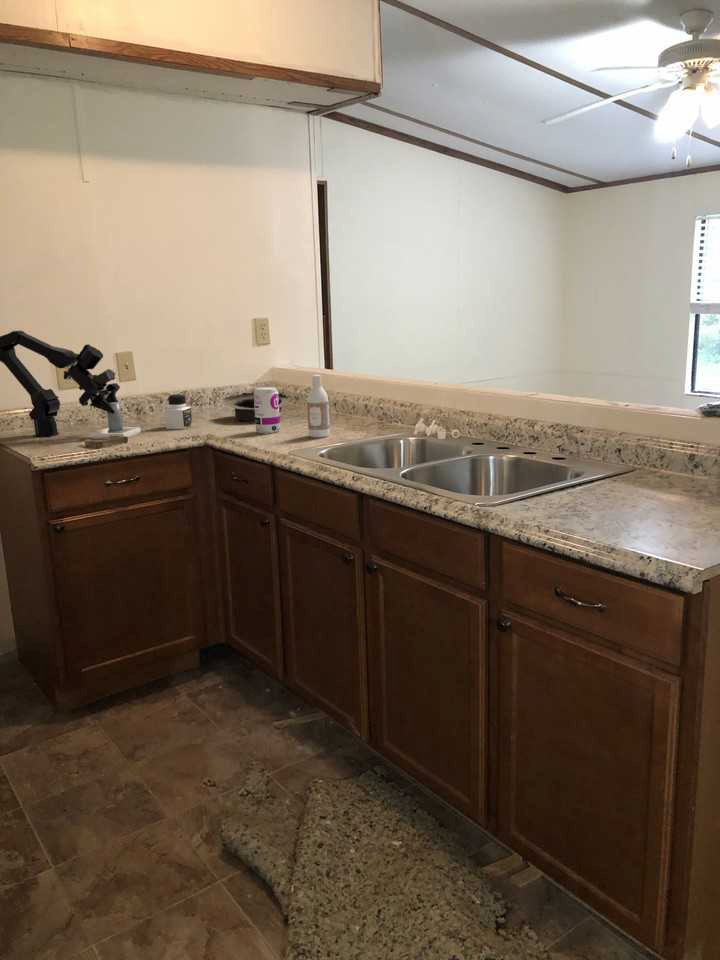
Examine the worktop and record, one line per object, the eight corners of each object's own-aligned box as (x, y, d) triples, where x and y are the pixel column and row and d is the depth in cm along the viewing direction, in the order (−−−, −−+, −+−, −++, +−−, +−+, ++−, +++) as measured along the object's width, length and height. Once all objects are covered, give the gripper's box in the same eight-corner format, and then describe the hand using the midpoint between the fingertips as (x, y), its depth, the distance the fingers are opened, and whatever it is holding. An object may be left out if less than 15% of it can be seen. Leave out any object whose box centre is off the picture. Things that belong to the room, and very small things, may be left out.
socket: (85, 446, 251) (84, 440, 251) (114, 440, 260) (113, 434, 259) (99, 448, 247) (98, 442, 246) (128, 442, 255) (127, 436, 255)
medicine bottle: (184, 429, 278) (181, 395, 275) (165, 429, 280) (163, 395, 277) (192, 426, 285) (190, 393, 282) (174, 426, 286) (171, 393, 284)
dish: (91, 439, 264) (90, 433, 263) (109, 432, 275) (108, 427, 275) (124, 439, 261) (123, 433, 261) (140, 433, 273) (140, 427, 272)
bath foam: (305, 437, 255) (302, 376, 251) (313, 433, 262) (310, 374, 257) (325, 438, 253) (323, 376, 249) (332, 434, 260) (330, 374, 255)
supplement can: (284, 430, 270) (282, 387, 267) (272, 434, 263) (269, 390, 260) (264, 429, 274) (261, 386, 270) (251, 433, 266) (248, 389, 263)
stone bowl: (255, 411, 315) (255, 388, 312) (303, 420, 301) (304, 397, 298) (210, 419, 295) (210, 395, 293) (259, 429, 281) (259, 404, 279)
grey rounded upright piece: (106, 433, 265) (103, 404, 262) (108, 431, 270) (105, 402, 268) (124, 432, 266) (121, 403, 264) (124, 430, 271) (122, 401, 269)
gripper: (83, 364, 254) (117, 398, 255) (112, 359, 272) (144, 391, 272) (64, 388, 258) (98, 422, 258) (94, 382, 275) (125, 413, 276)
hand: (117, 411), depth 266 cm, fingers closed on grey rounded upright piece, 4 cm apart
